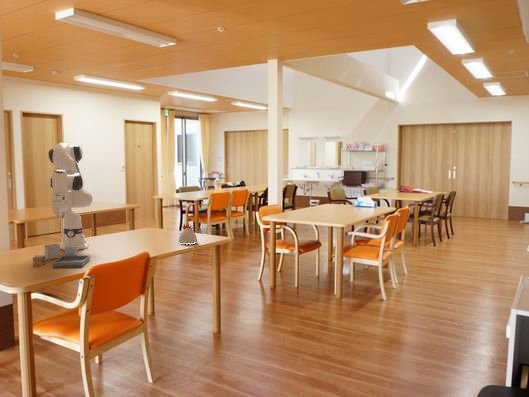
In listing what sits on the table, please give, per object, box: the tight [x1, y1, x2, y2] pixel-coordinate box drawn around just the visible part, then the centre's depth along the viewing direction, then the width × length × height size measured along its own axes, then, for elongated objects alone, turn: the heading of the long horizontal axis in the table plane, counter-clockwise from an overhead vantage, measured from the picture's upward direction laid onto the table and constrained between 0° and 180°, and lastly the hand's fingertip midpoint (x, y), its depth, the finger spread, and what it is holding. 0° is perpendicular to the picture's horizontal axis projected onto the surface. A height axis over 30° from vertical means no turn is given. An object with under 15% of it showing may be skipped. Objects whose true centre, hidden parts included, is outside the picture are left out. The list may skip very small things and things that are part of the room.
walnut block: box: [32, 254, 46, 267], centre depth 266 cm, size 5×5×5 cm
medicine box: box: [44, 242, 61, 260], centre depth 283 cm, size 8×4×9 cm, turn 141°
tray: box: [51, 255, 91, 269], centre depth 268 cm, size 18×16×3 cm
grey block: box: [64, 245, 78, 256], centre depth 280 cm, size 7×7×8 cm
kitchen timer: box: [177, 223, 198, 243], centre depth 337 cm, size 14×14×15 cm
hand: (61, 219), depth 279 cm, fingers open, 8 cm apart
